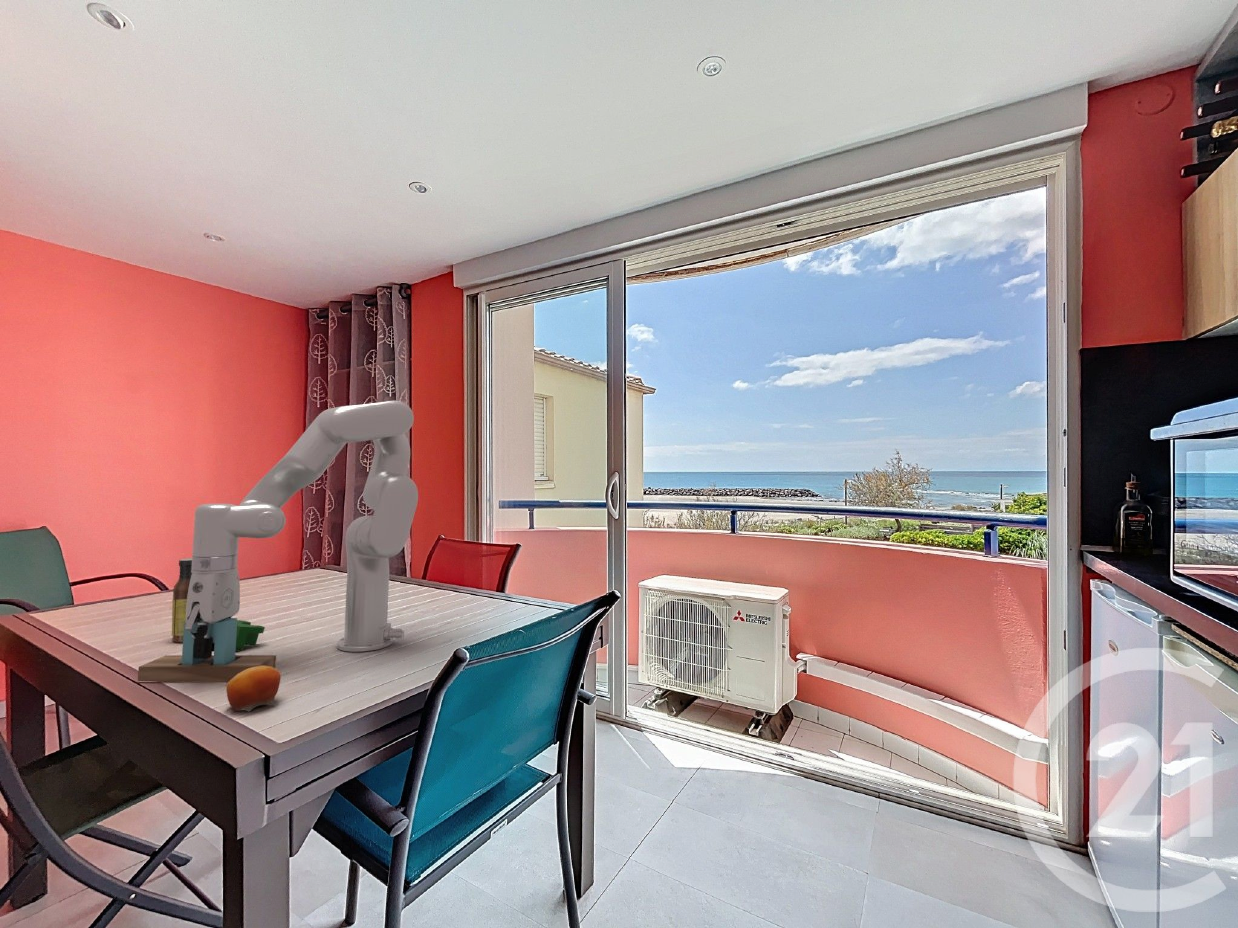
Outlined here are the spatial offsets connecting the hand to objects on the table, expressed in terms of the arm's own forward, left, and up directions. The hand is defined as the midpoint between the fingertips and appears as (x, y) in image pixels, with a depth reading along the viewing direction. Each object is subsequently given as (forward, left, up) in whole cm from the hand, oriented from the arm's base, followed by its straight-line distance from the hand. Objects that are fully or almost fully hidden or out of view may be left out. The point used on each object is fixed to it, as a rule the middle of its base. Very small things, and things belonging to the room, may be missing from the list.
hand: (209, 653), depth 110 cm
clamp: (+6, -21, -5) cm, 22 cm away
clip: (0, 0, -2) cm, 2 cm away
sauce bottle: (+21, -25, -5) cm, 33 cm away
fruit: (-17, +15, -5) cm, 23 cm away
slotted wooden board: (0, 0, -5) cm, 5 cm away
